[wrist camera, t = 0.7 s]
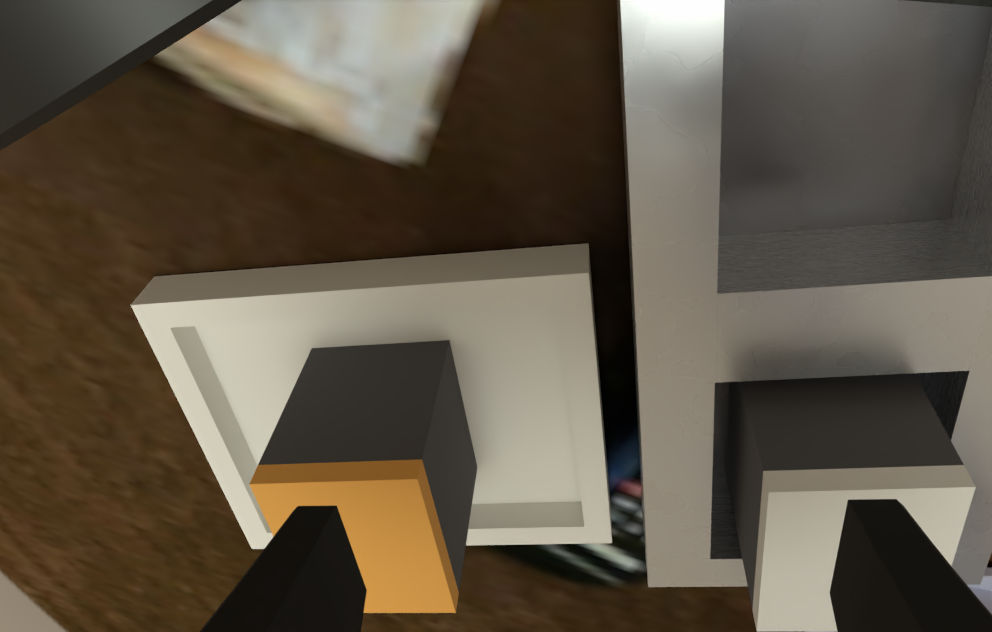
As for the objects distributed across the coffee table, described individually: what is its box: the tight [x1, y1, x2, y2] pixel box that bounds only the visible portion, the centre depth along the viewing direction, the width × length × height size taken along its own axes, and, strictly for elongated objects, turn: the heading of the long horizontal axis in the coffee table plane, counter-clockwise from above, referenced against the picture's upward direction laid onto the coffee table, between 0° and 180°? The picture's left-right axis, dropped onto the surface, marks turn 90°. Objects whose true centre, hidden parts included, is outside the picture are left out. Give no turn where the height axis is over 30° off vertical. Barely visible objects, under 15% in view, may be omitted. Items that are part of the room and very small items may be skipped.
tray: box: [131, 243, 612, 549], centre depth 23 cm, size 10×12×1 cm
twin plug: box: [726, 373, 976, 631], centre depth 19 cm, size 5×4×5 cm
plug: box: [249, 340, 477, 613], centre depth 21 cm, size 5×4×5 cm
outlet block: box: [616, 0, 992, 587], centre depth 18 cm, size 18×9×3 cm, turn 8°
